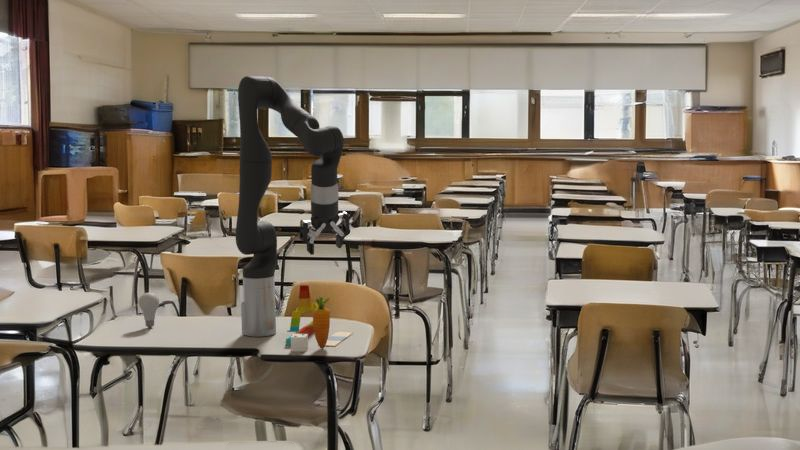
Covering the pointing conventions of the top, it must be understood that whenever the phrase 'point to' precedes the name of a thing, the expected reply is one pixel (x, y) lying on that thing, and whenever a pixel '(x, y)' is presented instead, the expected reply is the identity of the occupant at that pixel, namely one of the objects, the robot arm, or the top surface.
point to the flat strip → (337, 338)
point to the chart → (303, 306)
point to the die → (299, 342)
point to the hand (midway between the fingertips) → (325, 250)
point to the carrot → (321, 322)
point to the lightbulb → (149, 307)
